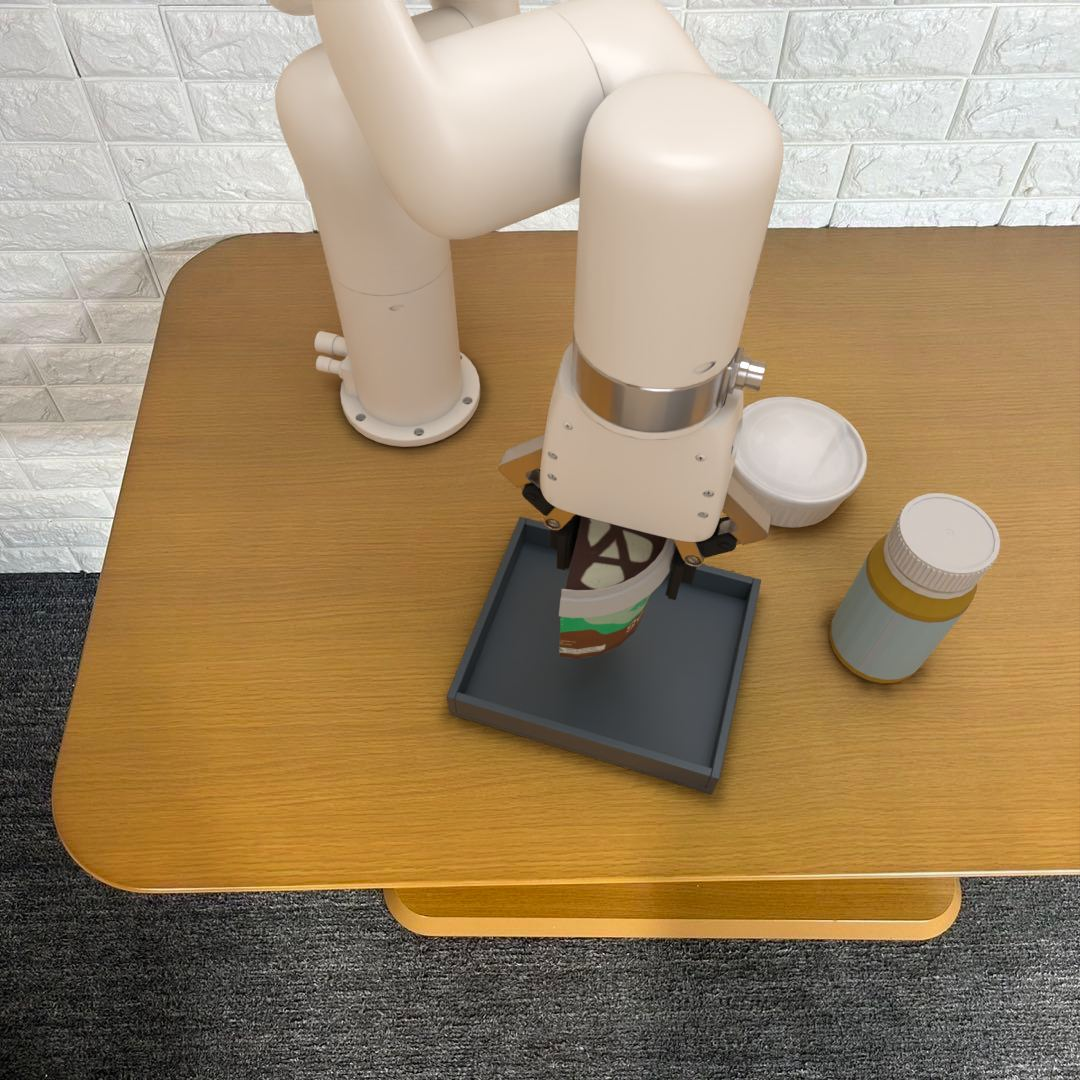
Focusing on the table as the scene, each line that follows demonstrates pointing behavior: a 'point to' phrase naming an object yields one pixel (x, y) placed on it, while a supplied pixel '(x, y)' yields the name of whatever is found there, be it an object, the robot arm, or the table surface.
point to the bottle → (913, 587)
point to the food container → (609, 586)
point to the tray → (610, 668)
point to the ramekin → (798, 459)
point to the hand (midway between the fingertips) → (621, 564)
